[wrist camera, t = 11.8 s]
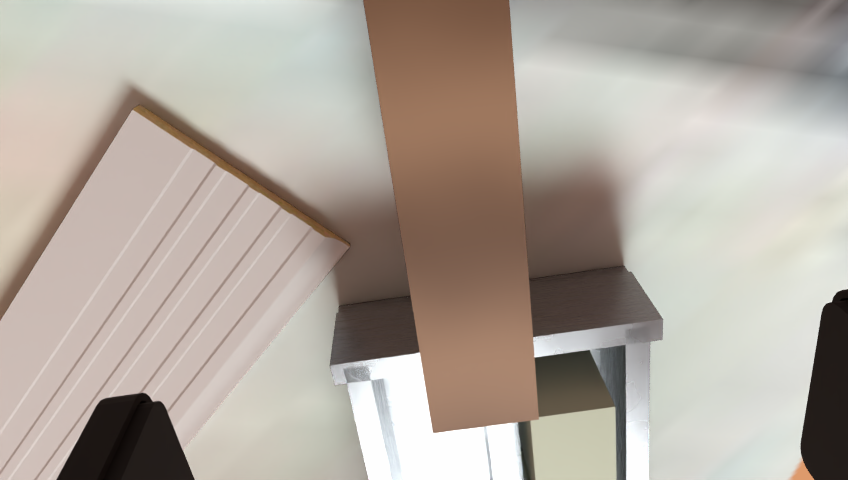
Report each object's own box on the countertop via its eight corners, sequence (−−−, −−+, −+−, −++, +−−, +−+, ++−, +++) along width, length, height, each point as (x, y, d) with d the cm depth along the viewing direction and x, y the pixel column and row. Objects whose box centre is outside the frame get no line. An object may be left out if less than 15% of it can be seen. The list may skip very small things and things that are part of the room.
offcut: (510, 348, 33) (530, 418, 28) (584, 337, 33) (615, 406, 28) (519, 436, 35) (538, 514, 30) (587, 427, 35) (616, 503, 30)
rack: (338, 301, 32) (329, 365, 28) (624, 261, 32) (662, 318, 27) (397, 569, 40) (398, 652, 36) (626, 538, 40) (656, 618, 36)
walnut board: (373, -51, 26) (360, -18, 14) (452, -63, 26) (506, -39, 14) (415, 235, 31) (432, 433, 19) (481, 226, 31) (539, 419, 19)
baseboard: (377, 256, 32) (144, 99, 28) (375, 286, 29) (119, 118, 26) (72, 618, 42) (-130, 535, 38) (51, 665, 39) (-169, 581, 35)
